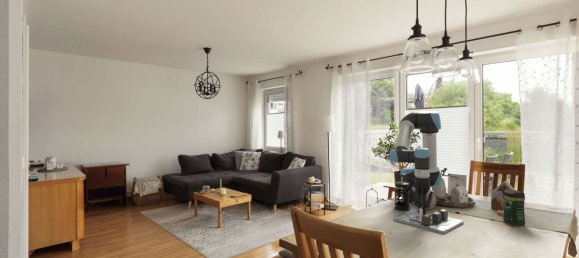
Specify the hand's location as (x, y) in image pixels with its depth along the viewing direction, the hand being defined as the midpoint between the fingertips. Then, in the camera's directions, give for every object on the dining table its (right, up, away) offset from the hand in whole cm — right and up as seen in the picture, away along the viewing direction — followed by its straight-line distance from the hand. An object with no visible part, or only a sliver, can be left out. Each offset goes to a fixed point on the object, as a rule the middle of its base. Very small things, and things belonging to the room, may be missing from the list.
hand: (422, 220), depth 162 cm
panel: (+6, -3, +6) cm, 9 cm away
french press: (+1, -3, +31) cm, 31 cm away
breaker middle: (+9, -1, +2) cm, 9 cm away
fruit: (+17, -3, +32) cm, 36 cm away
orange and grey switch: (+2, -2, -2) cm, 3 cm away
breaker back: (+15, -1, +7) cm, 17 cm away
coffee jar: (+51, -3, +1) cm, 51 cm away
